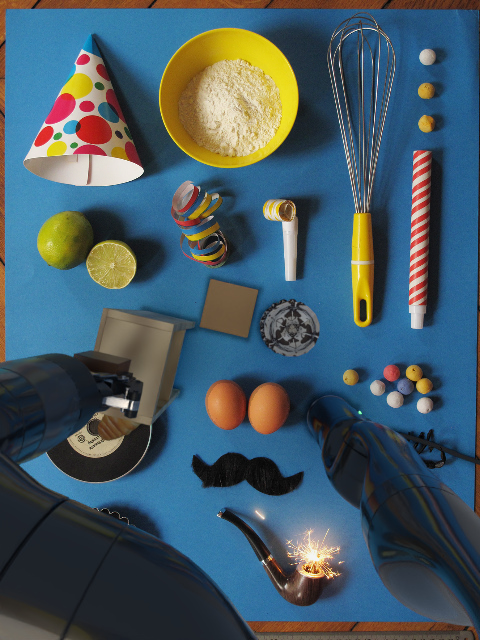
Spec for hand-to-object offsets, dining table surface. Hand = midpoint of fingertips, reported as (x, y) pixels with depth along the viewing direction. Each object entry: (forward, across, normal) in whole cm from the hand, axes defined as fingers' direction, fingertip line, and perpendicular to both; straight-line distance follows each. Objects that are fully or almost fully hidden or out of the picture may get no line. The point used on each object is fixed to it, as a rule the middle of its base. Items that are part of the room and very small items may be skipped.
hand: (105, 375), depth 50 cm
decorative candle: (+36, +21, +10) cm, 43 cm away
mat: (+36, +10, +11) cm, 39 cm away
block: (0, 0, 0) cm, 0 cm away
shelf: (+36, -1, -1) cm, 36 cm away
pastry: (+36, -6, -16) cm, 40 cm away
